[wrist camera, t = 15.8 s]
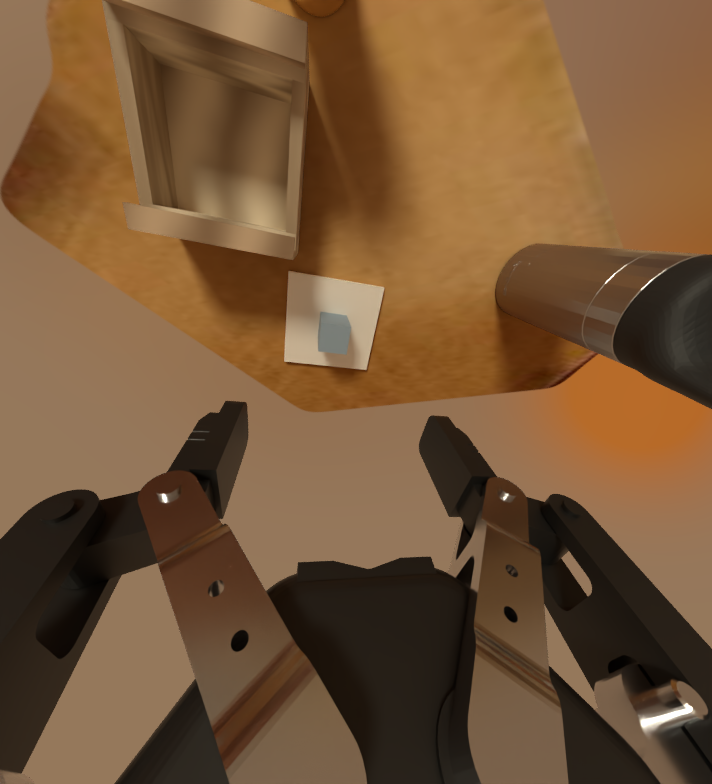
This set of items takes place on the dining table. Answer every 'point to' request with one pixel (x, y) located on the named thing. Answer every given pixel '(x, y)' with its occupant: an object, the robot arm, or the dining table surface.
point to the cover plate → (332, 302)
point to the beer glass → (320, 6)
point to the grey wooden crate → (213, 119)
